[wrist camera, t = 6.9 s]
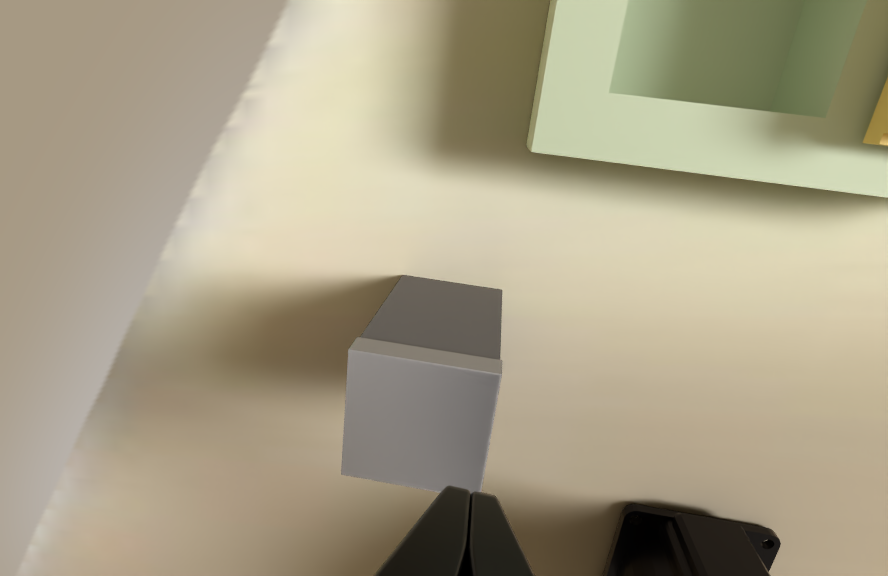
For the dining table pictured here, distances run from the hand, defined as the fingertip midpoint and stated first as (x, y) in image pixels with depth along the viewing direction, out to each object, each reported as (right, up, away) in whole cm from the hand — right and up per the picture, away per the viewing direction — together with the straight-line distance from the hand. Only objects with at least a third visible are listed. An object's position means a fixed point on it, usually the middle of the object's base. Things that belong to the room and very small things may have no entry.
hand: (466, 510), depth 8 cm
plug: (0, +2, +12) cm, 12 cm away
